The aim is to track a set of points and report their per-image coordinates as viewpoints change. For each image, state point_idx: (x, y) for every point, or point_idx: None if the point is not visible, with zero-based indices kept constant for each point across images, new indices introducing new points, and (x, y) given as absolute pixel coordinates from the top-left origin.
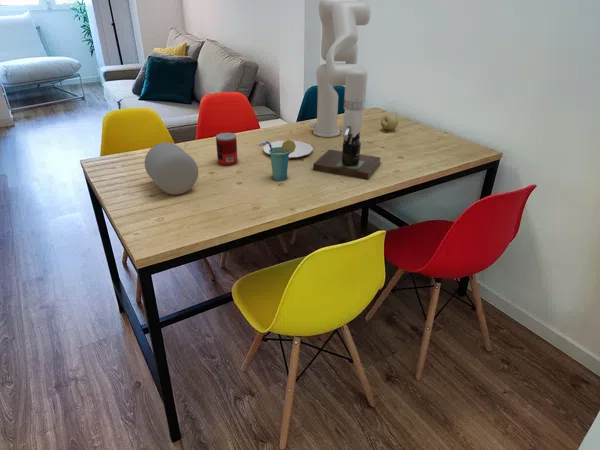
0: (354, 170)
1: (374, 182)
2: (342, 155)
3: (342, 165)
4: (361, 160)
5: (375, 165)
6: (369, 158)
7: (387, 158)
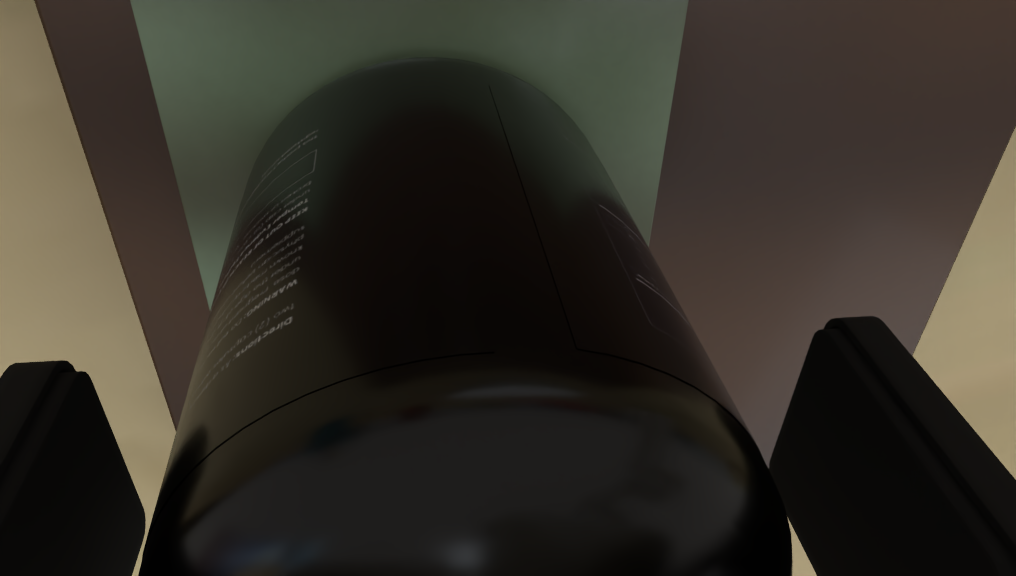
0: (173, 365)
1: None
2: (283, 185)
3: (236, 125)
4: None
5: None
6: (791, 380)
7: (994, 424)
